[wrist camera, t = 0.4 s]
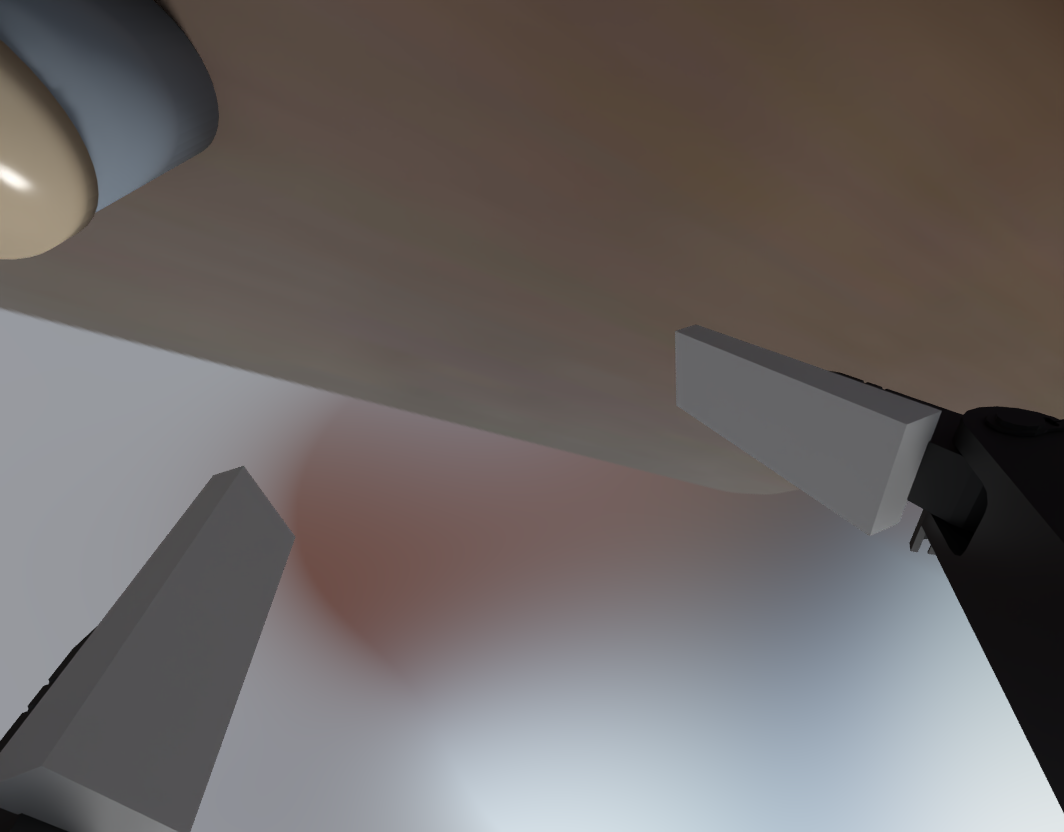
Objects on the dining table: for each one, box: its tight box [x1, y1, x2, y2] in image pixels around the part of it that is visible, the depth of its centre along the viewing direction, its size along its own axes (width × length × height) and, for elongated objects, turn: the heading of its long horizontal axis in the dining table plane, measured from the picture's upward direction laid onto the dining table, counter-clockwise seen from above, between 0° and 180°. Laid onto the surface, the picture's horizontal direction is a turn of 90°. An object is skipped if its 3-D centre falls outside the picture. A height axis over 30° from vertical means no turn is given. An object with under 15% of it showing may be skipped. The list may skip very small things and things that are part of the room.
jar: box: [0, 0, 219, 259], centre depth 12 cm, size 6×6×10 cm
